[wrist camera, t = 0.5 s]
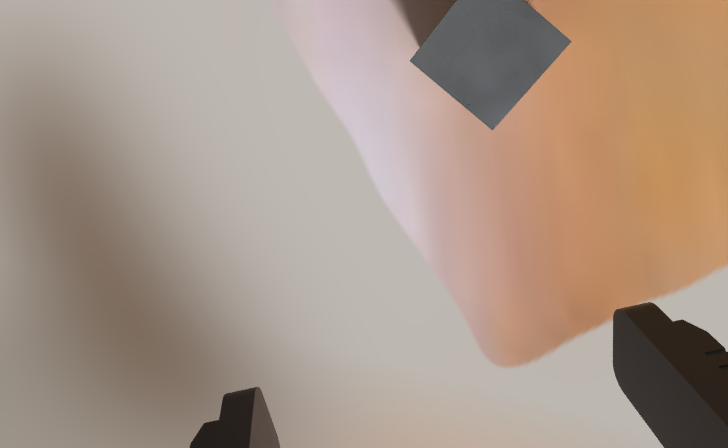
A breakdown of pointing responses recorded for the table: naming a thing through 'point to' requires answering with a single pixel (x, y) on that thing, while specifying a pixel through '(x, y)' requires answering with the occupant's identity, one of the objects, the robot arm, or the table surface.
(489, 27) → the block
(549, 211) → the table surface
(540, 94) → the table surface
